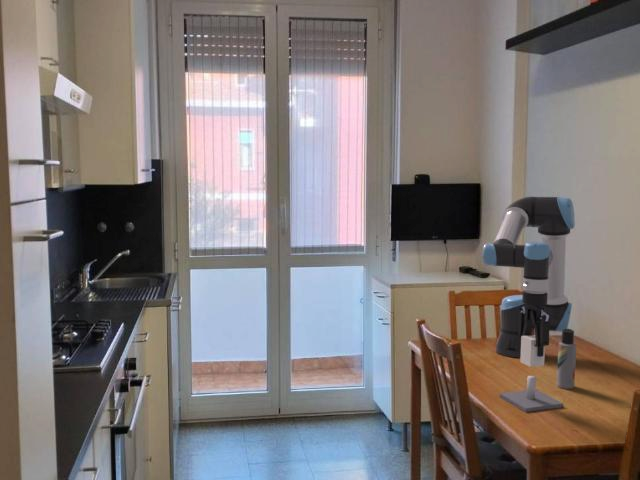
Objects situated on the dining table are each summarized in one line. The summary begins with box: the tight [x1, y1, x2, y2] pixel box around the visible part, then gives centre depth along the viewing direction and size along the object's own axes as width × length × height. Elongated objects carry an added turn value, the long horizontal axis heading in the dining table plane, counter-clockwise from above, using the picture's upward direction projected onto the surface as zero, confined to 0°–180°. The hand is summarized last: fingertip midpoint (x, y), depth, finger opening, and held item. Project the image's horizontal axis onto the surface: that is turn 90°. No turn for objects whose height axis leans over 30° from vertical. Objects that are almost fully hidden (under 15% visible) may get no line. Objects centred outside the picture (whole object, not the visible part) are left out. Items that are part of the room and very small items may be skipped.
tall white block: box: [519, 334, 546, 368], centre depth 208 cm, size 5×5×9 cm
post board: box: [499, 375, 564, 413], centre depth 209 cm, size 14×14×8 cm
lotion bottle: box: [556, 328, 577, 390], centre depth 224 cm, size 6×6×20 cm
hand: (532, 363), depth 208 cm, fingers closed on tall white block, 5 cm apart
